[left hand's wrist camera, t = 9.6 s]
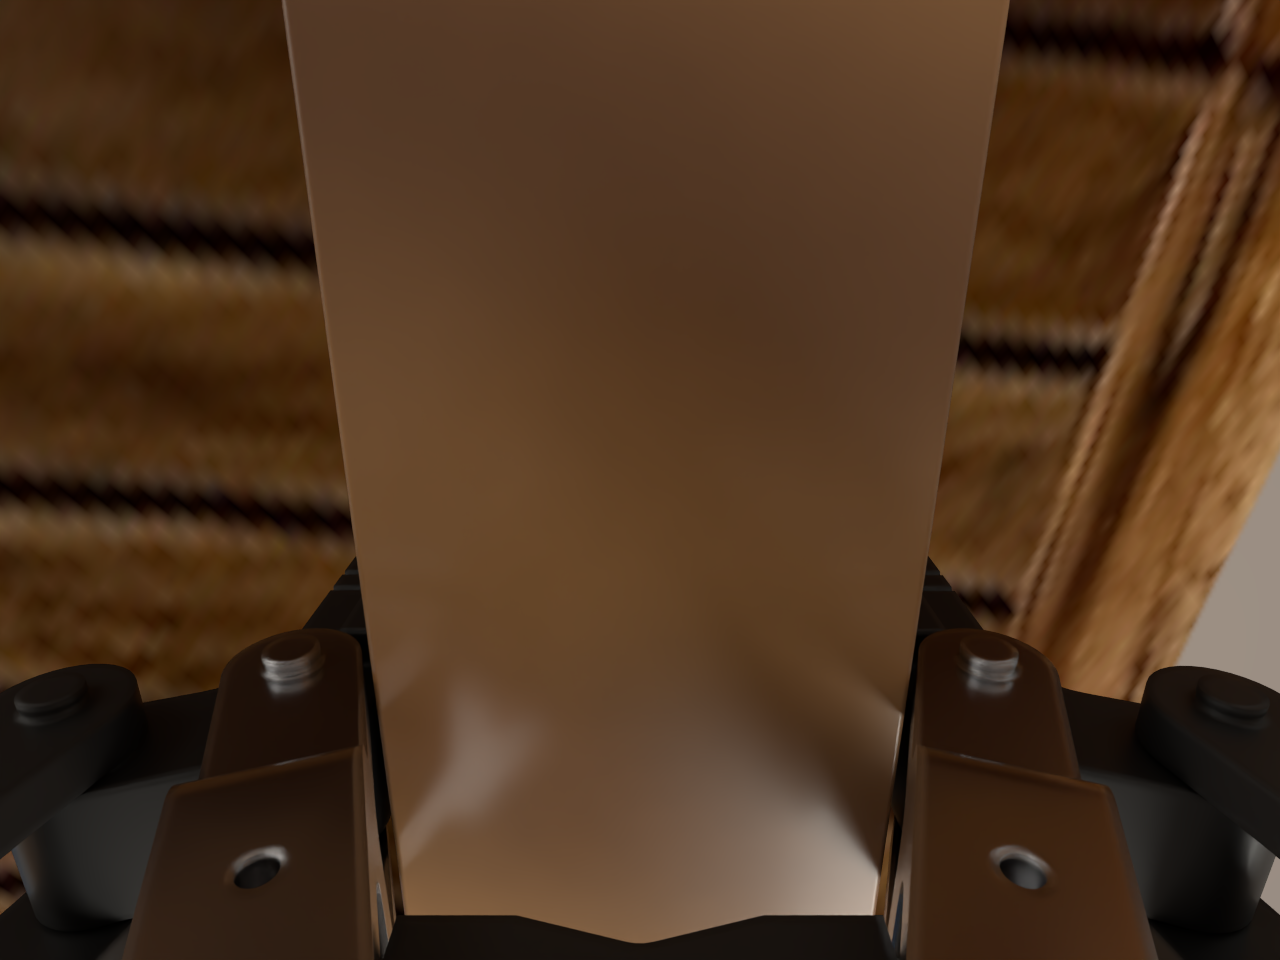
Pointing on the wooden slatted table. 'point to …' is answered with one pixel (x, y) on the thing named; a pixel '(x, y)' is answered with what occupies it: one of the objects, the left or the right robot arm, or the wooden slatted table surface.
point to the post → (642, 428)
